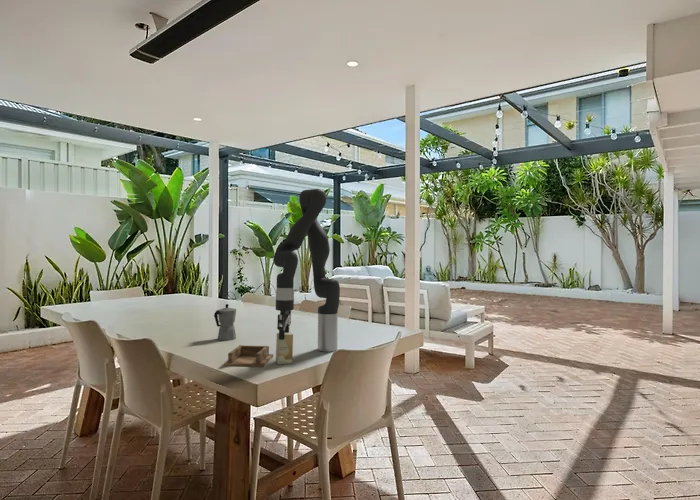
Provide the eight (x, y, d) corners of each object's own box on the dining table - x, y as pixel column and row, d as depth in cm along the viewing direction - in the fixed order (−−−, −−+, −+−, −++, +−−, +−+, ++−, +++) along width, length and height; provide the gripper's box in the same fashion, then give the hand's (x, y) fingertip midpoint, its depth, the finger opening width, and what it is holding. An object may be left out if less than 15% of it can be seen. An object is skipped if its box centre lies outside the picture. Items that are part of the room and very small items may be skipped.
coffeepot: (228, 335, 234) (228, 302, 234) (242, 337, 230) (242, 303, 229) (207, 341, 220) (207, 305, 220) (221, 343, 216) (221, 306, 216)
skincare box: (278, 364, 179) (278, 335, 178) (275, 362, 183) (275, 332, 182) (293, 363, 181) (293, 333, 181) (290, 360, 185) (290, 331, 185)
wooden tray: (237, 355, 193) (237, 344, 193) (273, 356, 191) (273, 345, 191) (224, 365, 177) (224, 353, 177) (263, 366, 175) (263, 354, 175)
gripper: (290, 300, 174) (289, 341, 174) (297, 296, 188) (296, 334, 188) (271, 300, 175) (270, 340, 175) (280, 296, 189) (279, 333, 189)
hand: (284, 337), depth 182 cm, fingers open, 8 cm apart
